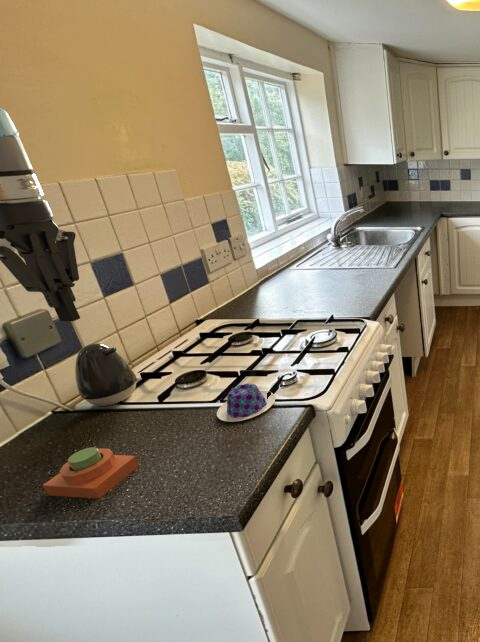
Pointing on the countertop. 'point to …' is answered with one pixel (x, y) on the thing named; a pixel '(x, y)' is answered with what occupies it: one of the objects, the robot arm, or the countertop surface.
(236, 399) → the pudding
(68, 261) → the robot arm
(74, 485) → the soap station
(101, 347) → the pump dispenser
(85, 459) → the button
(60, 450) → the countertop surface
